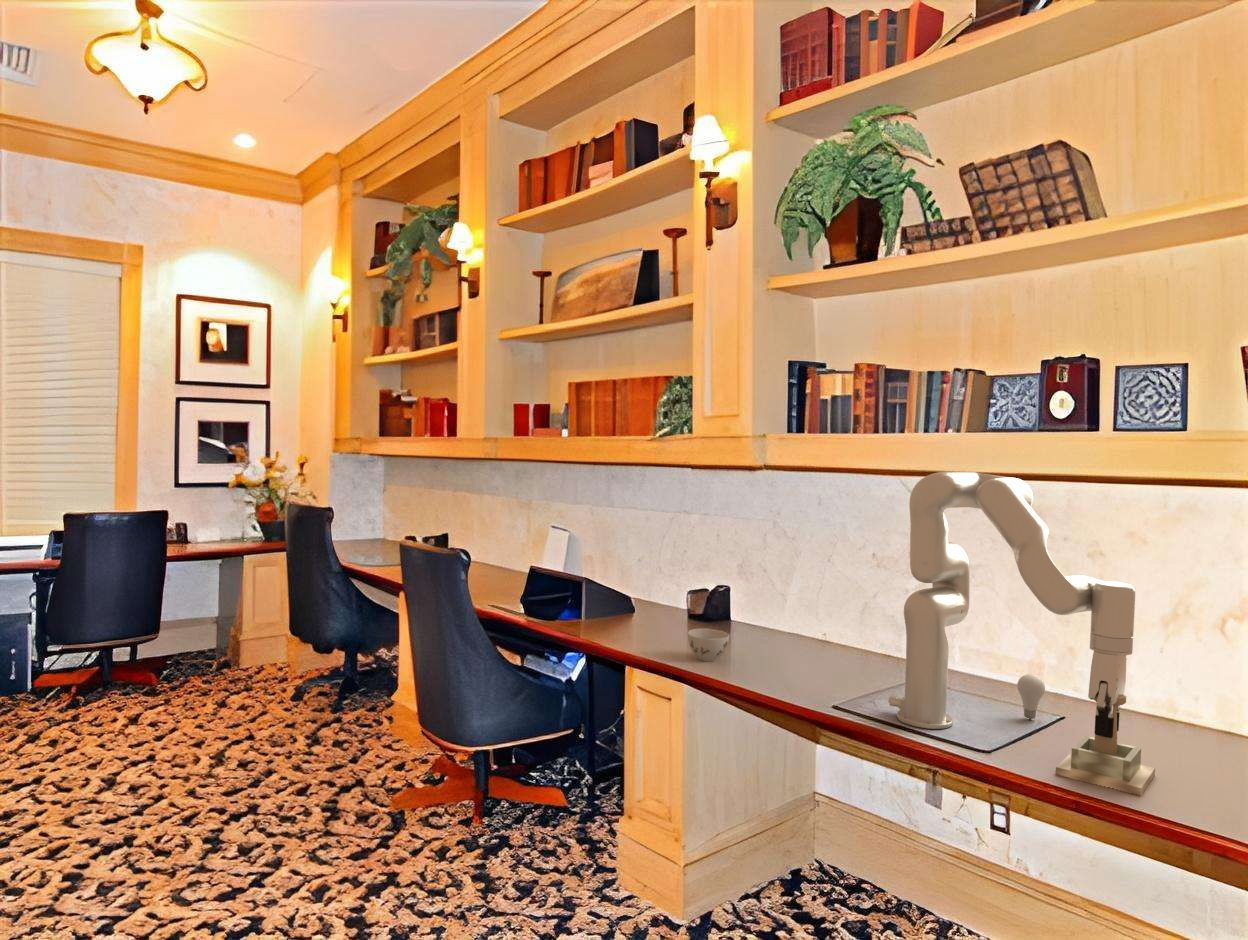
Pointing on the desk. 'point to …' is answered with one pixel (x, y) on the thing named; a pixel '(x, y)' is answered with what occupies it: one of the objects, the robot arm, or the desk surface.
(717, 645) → the teacup
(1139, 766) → the socket block
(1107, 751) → the handle
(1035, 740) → the desk surface
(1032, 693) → the lightbulb
